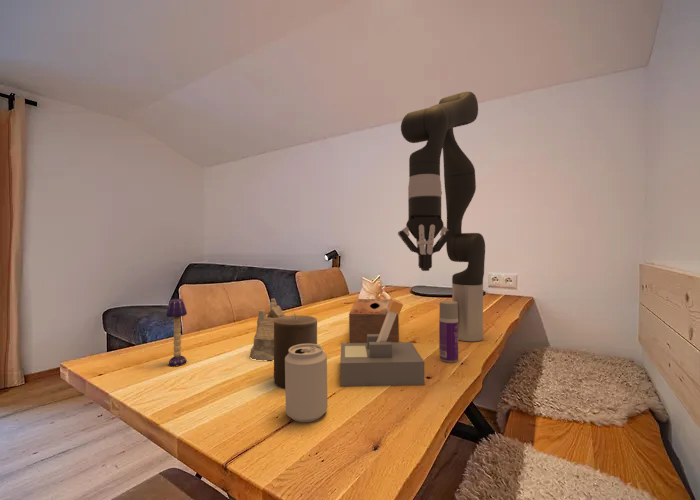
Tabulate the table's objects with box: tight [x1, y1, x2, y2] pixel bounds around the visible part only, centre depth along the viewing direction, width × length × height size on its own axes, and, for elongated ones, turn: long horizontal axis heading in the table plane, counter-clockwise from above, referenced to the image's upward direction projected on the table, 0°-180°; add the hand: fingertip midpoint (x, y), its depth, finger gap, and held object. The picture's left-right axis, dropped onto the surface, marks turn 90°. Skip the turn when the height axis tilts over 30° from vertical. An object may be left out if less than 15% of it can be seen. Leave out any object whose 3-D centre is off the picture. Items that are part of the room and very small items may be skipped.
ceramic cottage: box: [249, 298, 287, 360], centre depth 94 cm, size 16×16×15 cm
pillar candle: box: [273, 313, 318, 389], centre depth 75 cm, size 10×10×15 cm
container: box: [438, 300, 459, 364], centre depth 86 cm, size 5×5×15 cm
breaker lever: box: [376, 297, 404, 342], centre depth 78 cm, size 4×2×12 cm, turn 1°
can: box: [284, 343, 328, 423], centre depth 60 cm, size 8×8×12 cm
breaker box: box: [339, 334, 425, 387], centre depth 78 cm, size 14×18×8 cm
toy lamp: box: [166, 298, 188, 367], centre depth 85 cm, size 5×5×17 cm
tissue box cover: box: [348, 298, 400, 343], centre depth 110 cm, size 26×14×10 cm, turn 174°
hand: (425, 270), depth 78 cm, fingers closed
